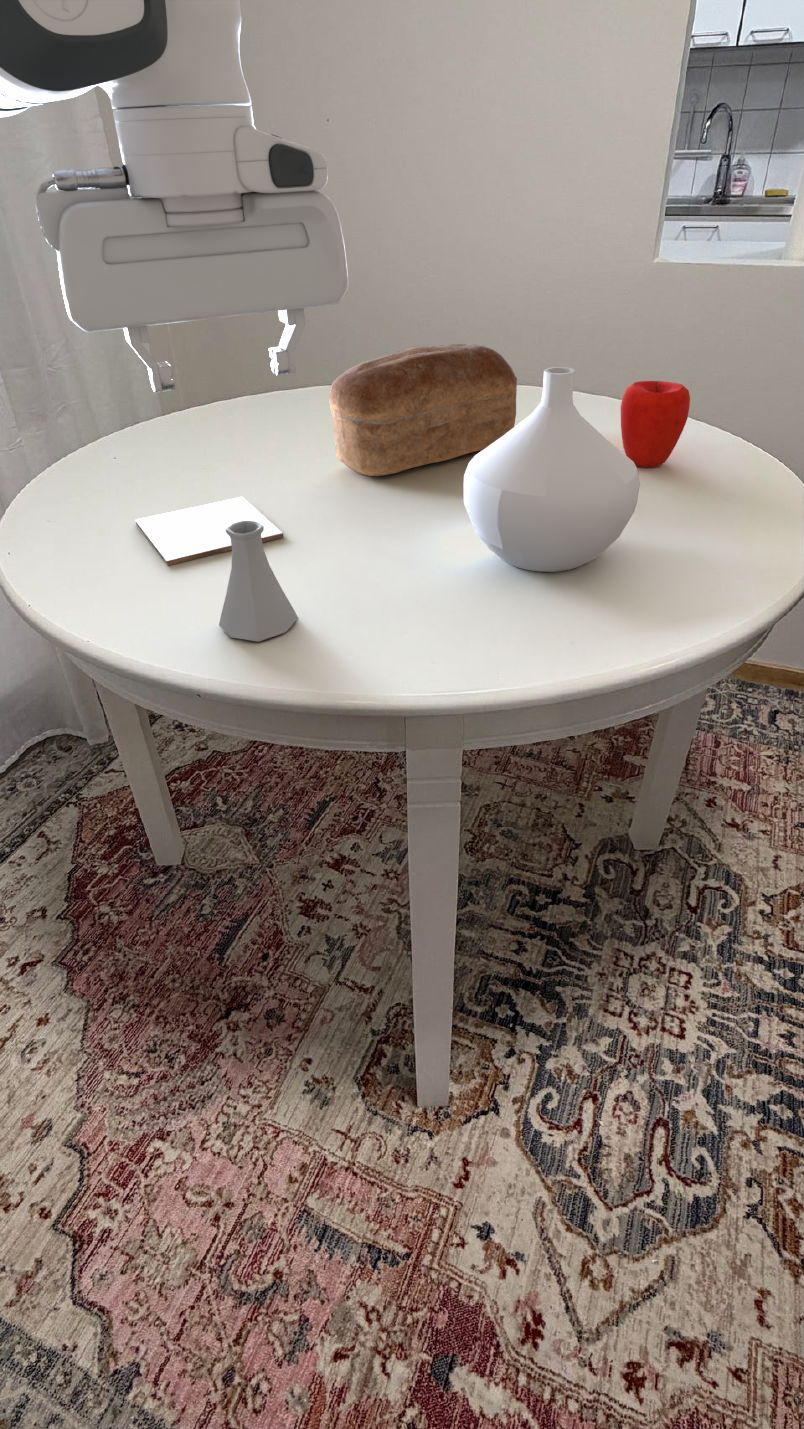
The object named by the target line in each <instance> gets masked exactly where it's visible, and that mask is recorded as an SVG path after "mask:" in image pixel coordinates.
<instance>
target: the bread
mask: <svg viewBox="0 0 804 1429" xmlns="http://www.w3.org/2000/svg"><path fill="white" fill-rule="evenodd" d="M517 387H518V377H517V376H516V374H515V372H514V370H513V368H512V366H511V365H510V364H509V363H508V362H507V360H506V359H505V358H504V356H502V354H500V353H499V352H497V351H496V350H494V349H493V348H490V347H488V346H484V345H480V344H467V343H466V344H465V343H463V344H462V343H461V344H460V343H459V344H455V343H454V344H437V345H419V346H418V345H417V346H412V347H408V348H406V349H403V350H400V351H396V352H393V353H390V354H385V355H383V356H380V357H375V358H372V359H369V360H366V361H363V362H360V363H358V364H355V365H354V366H352V367H349V368H348V369H346V370H345V371H344V372H342V373H341V374H340V375H339V376H337V378H335V380H333V382H332V383H331V386H330V391H329V397H328V398H329V402H328V403H329V407H330V412H331V413H330V414H331V423H332V432H333V440H334V446H335V455H336V459H337V460H339V461H340V462H341V463H343V464H344V465H345V466H346V467H347V468H349V469H350V470H352V471H353V472H357V473H358V474H361V475H365V476H370V477H380V476H389V475H393V474H397V473H401V472H403V471H406V470H409V469H413V468H417V467H420V466H421V467H422V466H424V465H428V464H434V463H439V462H443V461H448V460H452V459H454V458H458V457H460V456H464V455H467V454H470V453H474V452H478V451H482V450H484V449H485V448H487V447H488V446H489V445H491V444H492V443H494V442H495V441H496V440H498V439H499V438H501V437H502V436H503V435H505V434H506V433H507V432H509V431H510V430H511V429H513V428H514V427H515V426H516V419H517V418H516V416H517V391H518V388H517Z"/></svg>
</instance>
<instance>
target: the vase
mask: <svg viewBox="0 0 804 1429" xmlns="http://www.w3.org/2000/svg"><path fill="white" fill-rule="evenodd" d="M575 373H576V370H575V369H574V368H571V367H567V366H551V367H547V368H545V369H544V370H543V382H542V394H541V399H540V402H539V404H538V405H537V406H536V408H535V409H534V410H533V411H532V413H531V414H529V415H527V417H525V418H524V419H523V420H521V421H520V422H518V424H515V425H514V428H513V429H511V430H510V431H509V432H507V433H506V434H505V435H503V436H502V437H501V438H499V439H498V440H496V441H495V442H494V443H492V444H491V445H489V446H488V447H487V448H485V449H484V450H480V452H478V453H477V454H475V455H474V456H473V457H472V458H471V460H470V461H469V462H468V464H467V467H466V469H465V472H464V474H463V504H464V505H463V506H464V507H465V510H466V512H467V515H468V517H469V520H470V522H471V524H472V527H473V529H474V531H475V532H476V534H477V536H478V537H479V538H480V539H481V541H483V543H484V544H485V546H486V547H487V548H488V550H489V551H491V552H492V553H493V554H495V555H496V556H498V557H499V558H500V559H502V560H503V561H504V562H506V563H507V564H510V565H511V566H514V567H516V568H518V569H519V568H520V569H524V570H526V571H533V572H543V573H545V572H546V573H548V572H549V573H555V572H565V571H569V570H573V569H577V568H579V567H581V566H583V565H585V564H587V563H589V562H591V561H593V560H595V559H596V558H598V557H599V556H600V555H602V554H603V553H604V552H605V551H606V550H607V549H608V548H609V547H610V546H611V545H613V543H614V542H615V541H617V540H618V539H619V538H620V536H621V534H622V533H623V532H624V529H626V526H627V525H628V523H629V521H630V520H631V518H632V516H633V515H634V513H635V511H636V507H637V503H638V500H639V495H640V490H641V489H640V488H641V480H640V475H639V471H638V468H637V466H636V465H635V464H634V462H633V461H632V460H631V459H629V458H628V457H627V456H626V454H625V453H624V452H623V451H621V450H620V449H619V448H618V447H617V446H615V444H613V443H612V442H610V441H609V440H608V439H607V438H606V437H605V436H604V435H602V433H601V432H600V431H598V430H597V428H595V427H594V426H593V425H592V424H591V423H590V422H589V421H588V420H587V419H586V418H584V416H582V414H580V412H579V410H578V409H577V407H576V406H575V404H574V400H573V399H574V398H573V395H574V394H573V393H574V384H575V383H574V382H575Z"/></svg>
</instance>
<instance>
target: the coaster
mask: <svg viewBox="0 0 804 1429" xmlns="http://www.w3.org/2000/svg"><path fill="white" fill-rule="evenodd" d="M244 520H248V521H257V522H258V523H260V524H261V525H263V527H264V530H263V532H262V533H261V537H262V544H263V543H267V542H272V541H275V540H279V539H284V536H285V535H284V532H282V530H280V529H279V528H278V527H277V526H276V525H275V524H273V522H272V521H270V520H269V519H268V518H267V517H266V516H265V515H264V514H262V513H261V512H260V511H259V510H258V509H257V508H256V507H255V506H253V505H252V504H251V503H250V502H249V500H247V499H245V497H243V496H239V497H234V498H230V499H225V500H222V501H215V502H212V503H208V504H203V505H202V504H201V505H198V506H193V507H188V508H183V509H179V510H175V511H171V512H165V513H161V514H156V515H151V516H147V517H142V518H138V519H135V524H136V526H137V527H138V528H139V529H140V531H141V532H142V533H143V535H144V536H145V537H146V539H147V540H148V541H149V543H150V544H151V546H152V547H153V548H154V550H155V551H156V552H157V553H158V555H159V556H160V558H161V559H162V560H163V561H164V562H165V564H166V565H167V566H172V565H176V564H180V563H184V562H188V561H192V560H196V559H201V558H205V557H209V556H213V555H218V554H221V553H225V552H230V551H232V546H231V539H230V536H229V535H227V533H226V530H225V529H226V528H227V527H228V526H230V525H231V524H232V523H236V522H240V521H244Z"/></svg>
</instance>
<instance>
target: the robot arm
mask: <svg viewBox="0 0 804 1429" xmlns="http://www.w3.org/2000/svg"><path fill="white" fill-rule="evenodd" d="M240 1H241V0H0V118H6V117H11V116H15V115H18V114H20V113H22V112H25V111H26V110H28V109H30V108H31V107H34V106H41V105H47V104H52V103H56V102H59V101H62V100H68V99H72V98H75V97H78V96H80V95H83V94H85V93H87V92H88V91H90V90H92V89H94V88H95V87H97V86H98V87H100V88H102V89H103V90H104V91H105V92H106V94H107V95H108V98H109V101H110V104H111V105H110V106H111V110H112V115H113V120H114V126H115V131H116V135H117V136H116V137H117V140H118V146H119V150H120V155H121V161H122V166H121V165H120V166H104V167H95V168H91V169H86V170H85V169H83V170H75V169H71V168H67V169H66V168H64V169H59V170H58V169H57V170H55V171H53V172H52V177H49V178H47V179H46V180H44V181H43V182H42V183H41V184H39V187H38V189H37V191H36V194H35V201H34V203H35V204H34V205H35V209H36V213H37V218H38V221H39V225H40V229H41V233H42V235H43V237H44V239H45V241H46V242H47V243H48V245H49V246H50V247H51V248H52V249H53V250H55V251H56V255H57V264H58V271H59V279H60V285H61V291H62V295H63V300H64V305H65V309H66V312H67V315H68V318H69V320H70V321H72V323H74V324H75V325H76V326H77V327H79V329H81V330H82V331H84V332H86V333H95V332H104V331H105V332H106V331H113V330H114V331H115V330H123V332H124V337H125V340H126V342H127V343H128V345H129V346H130V347H131V349H133V351H134V352H135V353H136V354H137V356H138V357H139V358H140V360H142V362H143V363H144V364H145V365H146V367H147V371H148V376H149V382H150V385H151V388H152V391H153V392H154V393H155V394H156V393H163V392H169V391H175V390H176V385H175V384H176V383H175V381H174V380H173V375H174V374H173V369H172V365H171V364H170V363H169V362H168V361H167V360H165V361H156V360H155V358H154V357H153V356H152V354H150V352H149V351H148V350H147V348H146V347H145V346H144V345H143V344H149V343H150V342H151V340H150V334H149V328H148V326H158V325H167V324H175V323H184V322H192V321H193V322H194V321H202V320H211V319H219V318H228V317H238V316H246V315H247V316H248V315H255V314H264V313H271V312H274V313H275V312H278V318H279V321H280V322H282V324H285V326H284V328H283V329H284V330H283V332H282V334H281V338H280V340H279V344H278V346H273V347H268V351H269V352H268V353H269V358H270V359H271V361H270V368H271V371H272V373H273V374H274V375H276V376H283V375H292V374H296V360H295V350H296V348H297V346H298V344H299V341H300V339H301V336H302V333H303V331H304V329H305V326H306V317H305V309H308V308H317V307H325V306H327V307H328V306H334V305H340V304H341V302H342V301H343V299H344V297H345V295H346V293H347V291H348V288H349V274H348V261H347V253H346V248H345V240H344V234H343V230H342V224H341V219H340V217H339V213H338V210H337V208H336V206H335V204H334V202H333V200H332V199H331V198H330V197H328V195H326V193H325V194H324V193H323V192H322V191H319V190H322V189H323V188H325V187H326V185H327V183H328V179H329V167H328V161H327V158H326V156H325V155H324V154H323V153H322V152H320V151H318V150H316V149H314V148H311V147H308V146H305V145H302V144H299V143H296V142H293V141H290V140H287V139H285V138H283V137H281V136H279V135H276V134H272V133H271V134H270V133H268V132H265V131H261V130H259V129H257V128H256V126H255V124H254V116H253V106H252V98H251V95H250V91H249V89H248V88H249V87H248V85H247V83H246V80H245V77H244V73H243V69H242V68H243V67H242V63H241V55H240V37H241V36H240V35H241V29H242V28H241V27H242V10H241V9H242V8H241V2H240ZM53 186H54V187H55V188H56V191H47V190H49V189H50V188H52V187H53ZM57 190H58V191H57Z"/></svg>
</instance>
